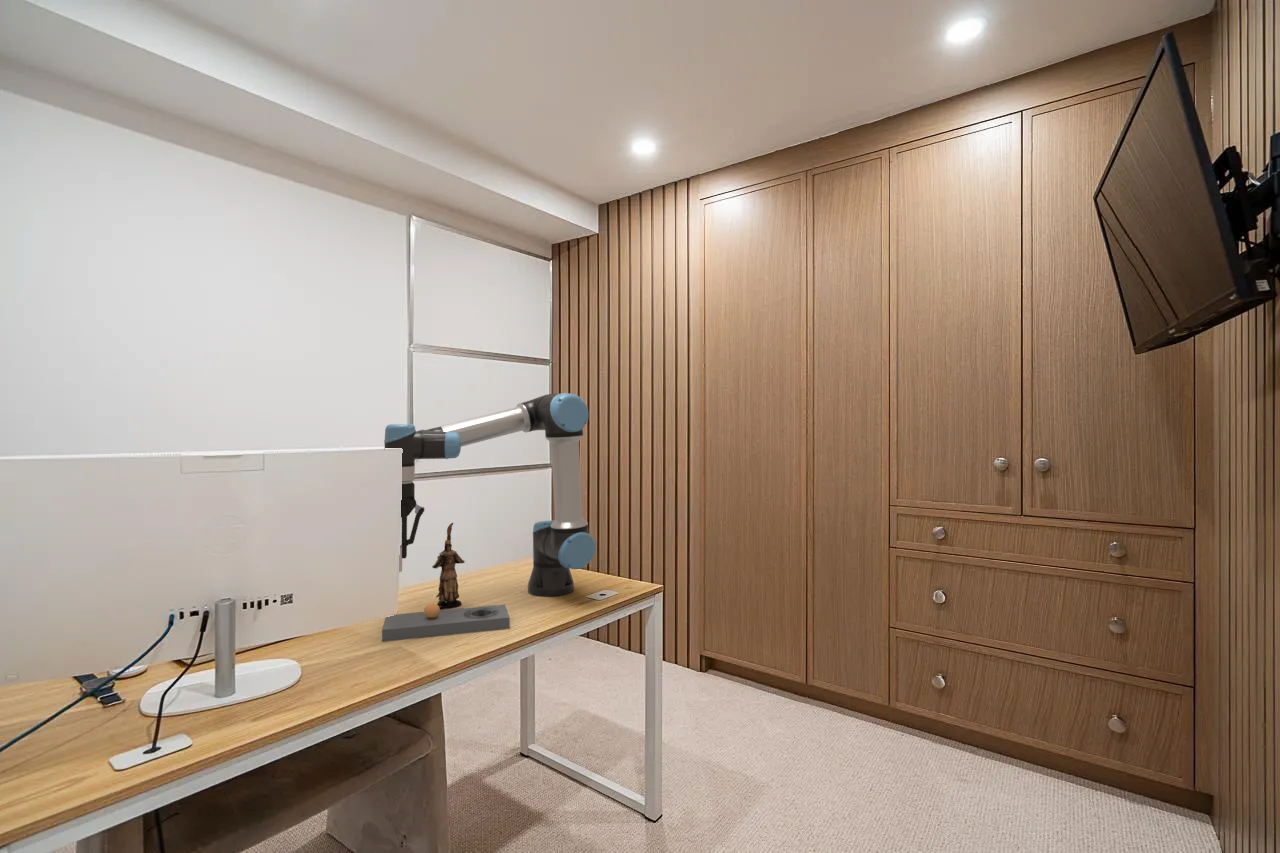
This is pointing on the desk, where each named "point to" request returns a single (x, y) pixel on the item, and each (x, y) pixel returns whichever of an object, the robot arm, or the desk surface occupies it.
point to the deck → (445, 622)
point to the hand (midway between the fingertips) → (398, 570)
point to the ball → (431, 610)
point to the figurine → (448, 575)
